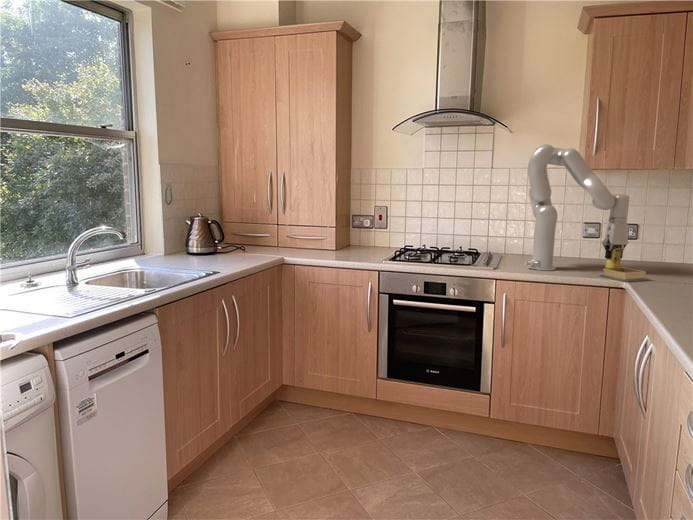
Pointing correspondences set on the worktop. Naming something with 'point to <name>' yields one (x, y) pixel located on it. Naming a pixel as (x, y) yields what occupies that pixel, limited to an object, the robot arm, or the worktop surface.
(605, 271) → the yellow square tray
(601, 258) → the worktop surface
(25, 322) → the worktop surface
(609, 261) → the sauce bottle
